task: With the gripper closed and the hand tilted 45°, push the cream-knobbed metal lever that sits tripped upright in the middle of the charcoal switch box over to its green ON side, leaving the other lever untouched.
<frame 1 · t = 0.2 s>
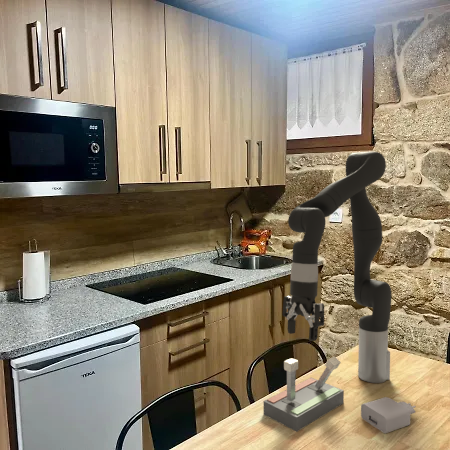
hand: (301, 336, 123), 23 cm above the table, tool pointing down, fingers open, 8 cm apart
switch box: (304, 408, 128), on the table
charger: (393, 420, 122), on the table
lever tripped: (291, 380, 123), point 11 cm above the table, hinge at 0.0°
lever on: (326, 374, 129), point 10 cm above the table, hinge at 30.0°
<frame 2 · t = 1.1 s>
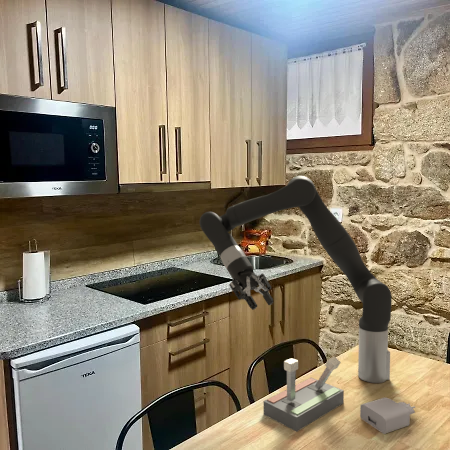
hand: (263, 305, 134), 29 cm above the table, tool tilted 45°, fingers open, 6 cm apart
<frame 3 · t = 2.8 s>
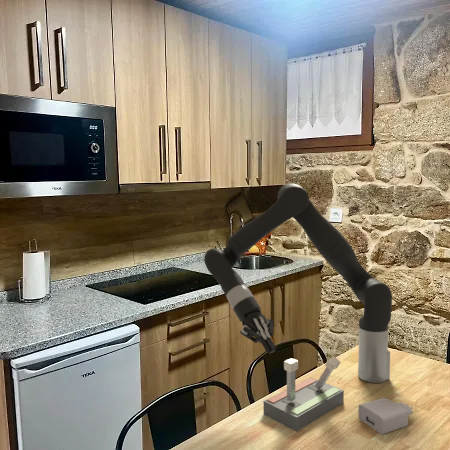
hand: (272, 351, 128), 17 cm above the table, tool tilted 45°, fingers closed
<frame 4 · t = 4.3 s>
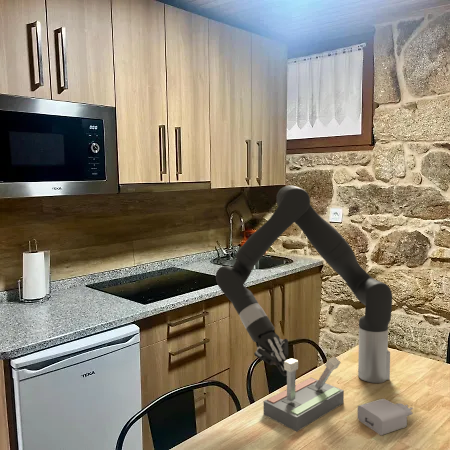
hand: (287, 374, 124), 12 cm above the table, tool tilted 45°, fingers closed
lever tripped: (291, 380, 123), point 11 cm above the table, hinge at 0.0°, touching gripper
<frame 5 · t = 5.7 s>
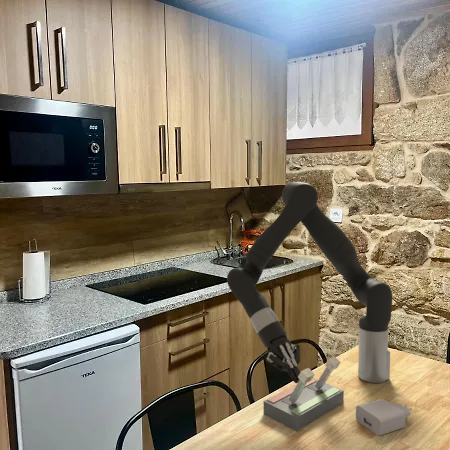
hand: (299, 381, 121), 11 cm above the table, tool tilted 45°, fingers closed
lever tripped: (300, 386, 121), point 10 cm above the table, hinge at 28.7°, touching gripper
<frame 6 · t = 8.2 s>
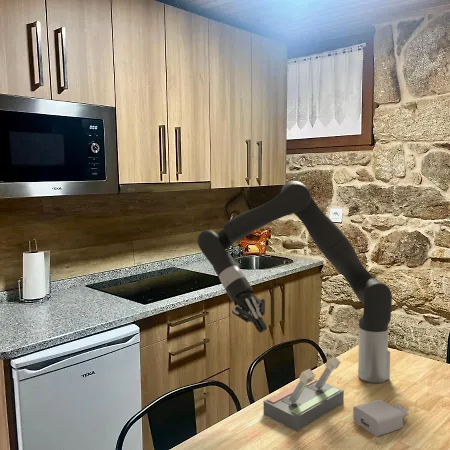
hand: (263, 330, 131), 22 cm above the table, tool tilted 45°, fingers closed
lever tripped: (300, 387, 121), point 10 cm above the table, hinge at 30.4°
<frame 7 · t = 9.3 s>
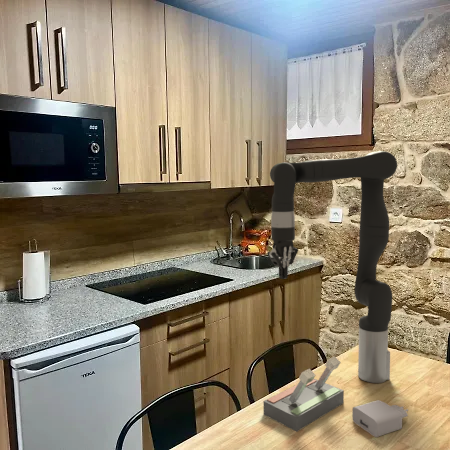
hand: (283, 278, 142), 35 cm above the table, tool pointing down, fingers closed
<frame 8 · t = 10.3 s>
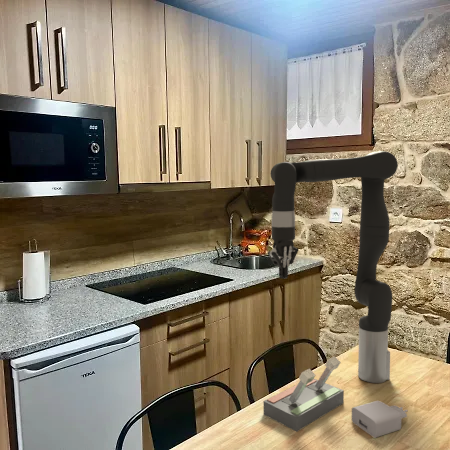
hand: (283, 278, 142), 35 cm above the table, tool pointing down, fingers closed
at the end: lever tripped at +30° (first picture: +0°); lever on at +30° (first picture: +30°) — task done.
